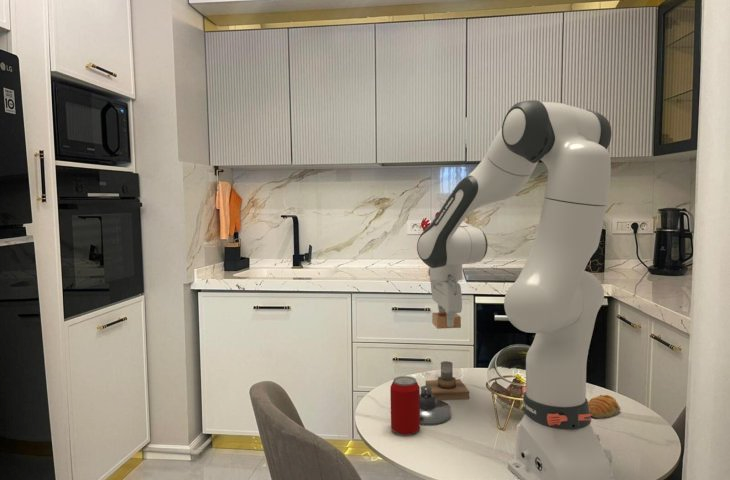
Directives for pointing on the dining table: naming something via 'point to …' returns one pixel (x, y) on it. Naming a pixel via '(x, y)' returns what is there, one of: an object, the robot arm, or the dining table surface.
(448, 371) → the walnut stand
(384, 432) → the dining table surface
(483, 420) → the dining table surface
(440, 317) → the wooden square frame
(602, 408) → the pastry
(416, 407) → the beverage can
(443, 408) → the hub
